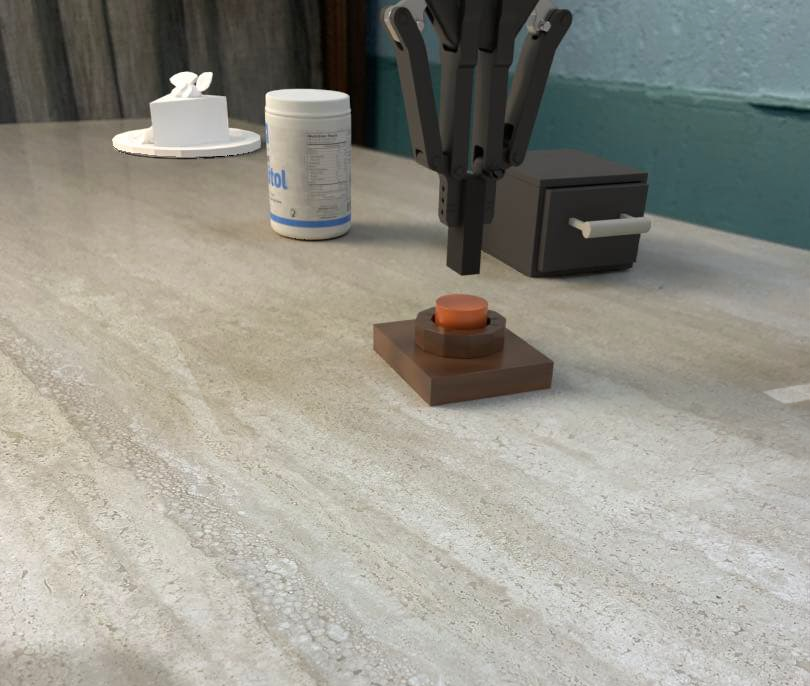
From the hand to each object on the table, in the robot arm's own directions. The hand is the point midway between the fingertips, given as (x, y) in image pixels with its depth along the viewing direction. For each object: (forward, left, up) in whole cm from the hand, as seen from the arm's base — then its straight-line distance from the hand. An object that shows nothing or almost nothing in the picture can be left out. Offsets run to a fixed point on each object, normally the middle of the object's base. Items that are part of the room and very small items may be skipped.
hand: (462, 269), depth 64 cm
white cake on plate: (+55, -91, -8) cm, 107 cm away
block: (0, 0, -8) cm, 8 cm away
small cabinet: (-7, -35, -8) cm, 37 cm away
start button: (0, 0, -4) cm, 4 cm away
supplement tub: (+21, -39, -8) cm, 45 cm away
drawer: (-9, -32, -7) cm, 34 cm away
